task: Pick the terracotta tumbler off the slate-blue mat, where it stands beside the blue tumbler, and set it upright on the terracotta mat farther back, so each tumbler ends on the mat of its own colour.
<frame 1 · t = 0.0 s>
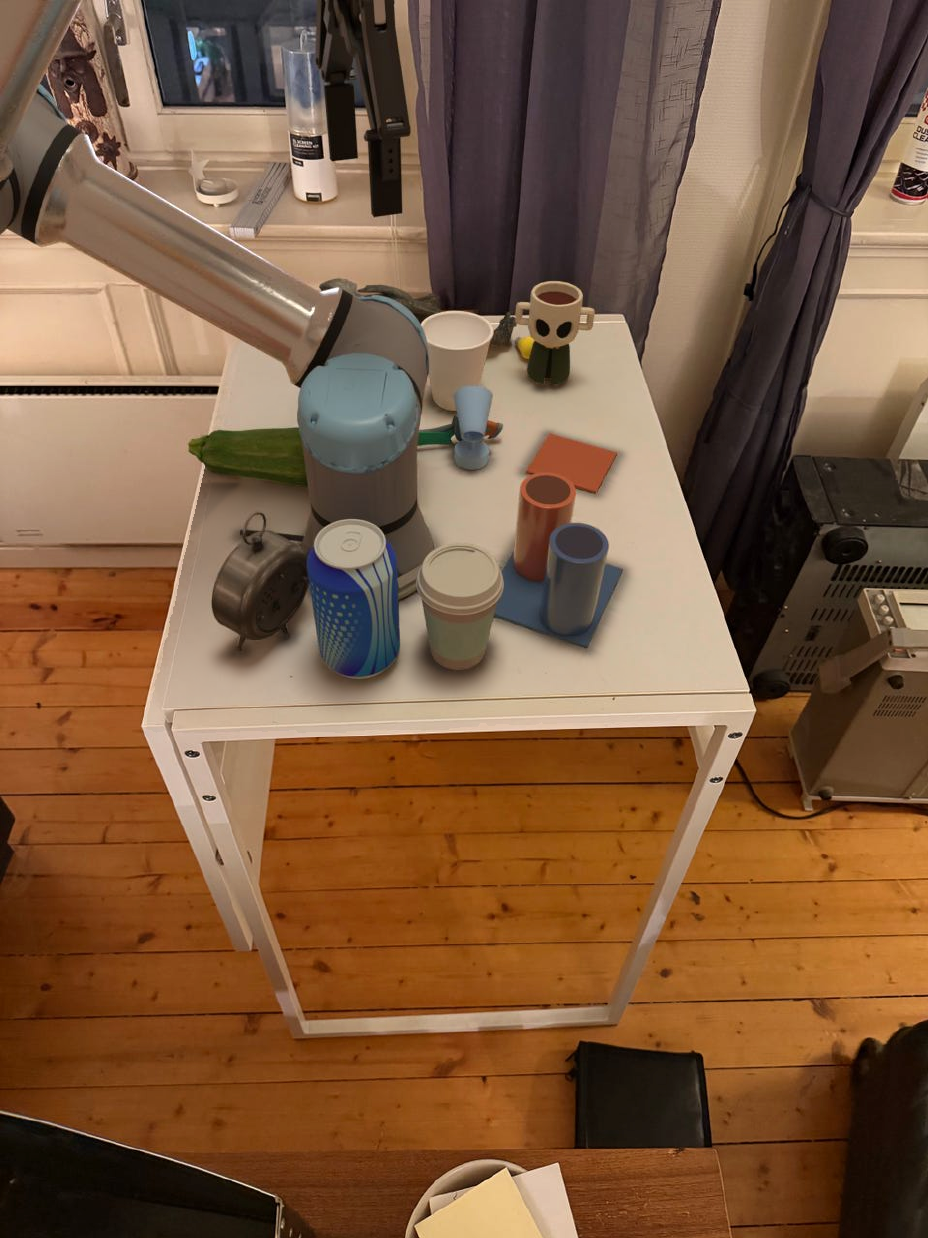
hand: (364, 185, 83), 37 cm above the table, tool pointing down, fingers open, 13 cm apart
stone: (372, 370, 125), point 1 cm above the table
terracotta tumbler: (538, 563, 101), resting on blue mat
statue: (513, 333, 133), point 1 cm above the table, touching spoon rest
blue tumbler: (566, 615, 95), resting on blue mat
spotlight: (471, 458, 115), on the table
terracotta mat: (571, 463, 114), on the table
vegetable: (343, 460, 107), point 4 cm above the table
spoon rest: (345, 382, 125), on the table, touching statue
beer can: (360, 655, 92), on the table
alarm clock: (274, 631, 94), on the table
blue mat: (552, 590, 98), on the table
character mug: (547, 377, 128), on the table
coffee cup: (457, 650, 92), on the table
light bulb: (518, 356, 131), on the table
cup: (454, 401, 123), on the table
knife: (429, 448, 116), on the table
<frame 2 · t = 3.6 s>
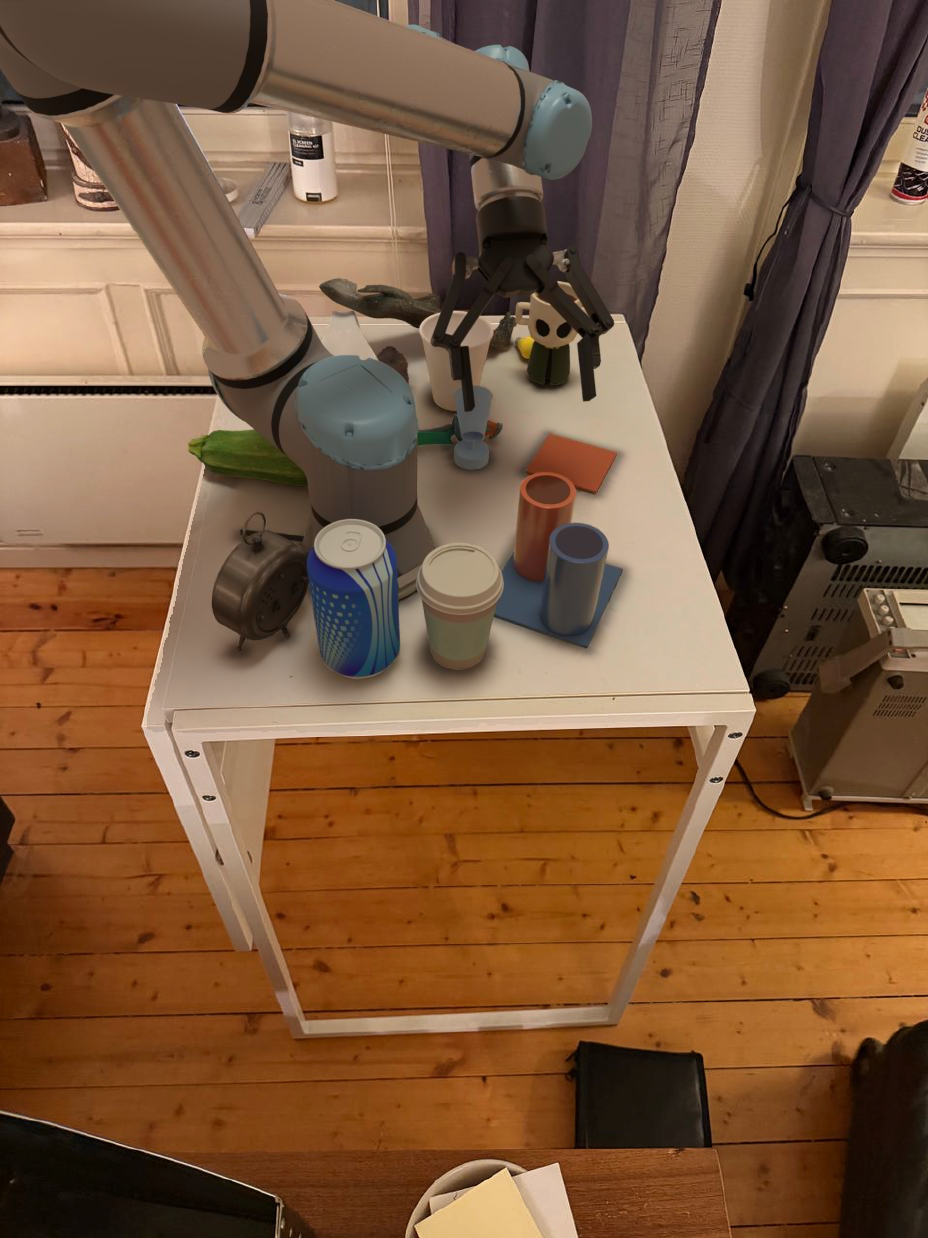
hand: (530, 404, 96), 16 cm above the table, tool tilted 45°, fingers open, 13 cm apart
nothing on the table moved.
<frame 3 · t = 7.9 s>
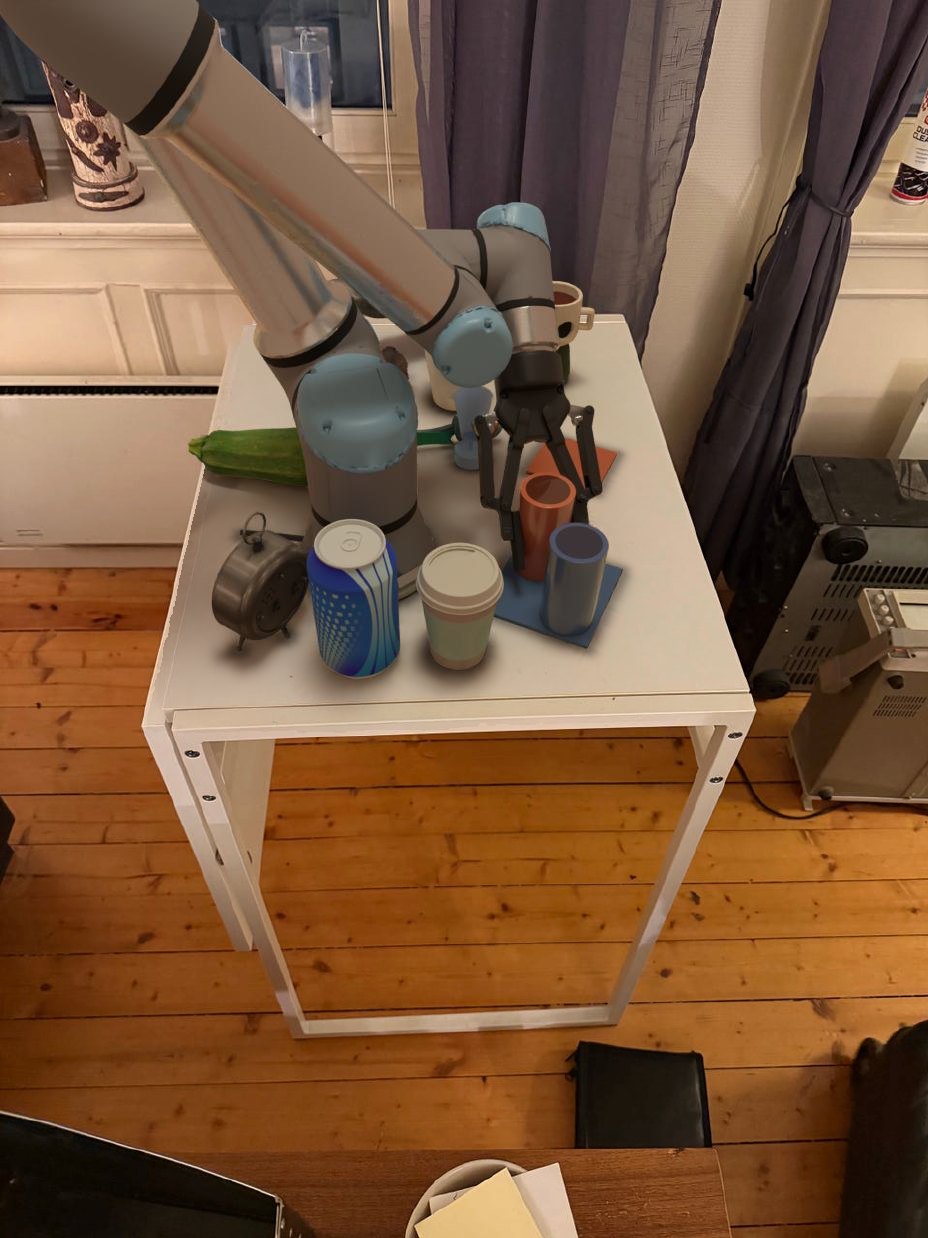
hand: (549, 566, 96), 3 cm above the table, tool tilted 45°, fingers closed on terracotta tumbler, 6 cm apart
terracotta tumbler: (538, 563, 101), resting on blue mat, touching gripper
everything else where it was.
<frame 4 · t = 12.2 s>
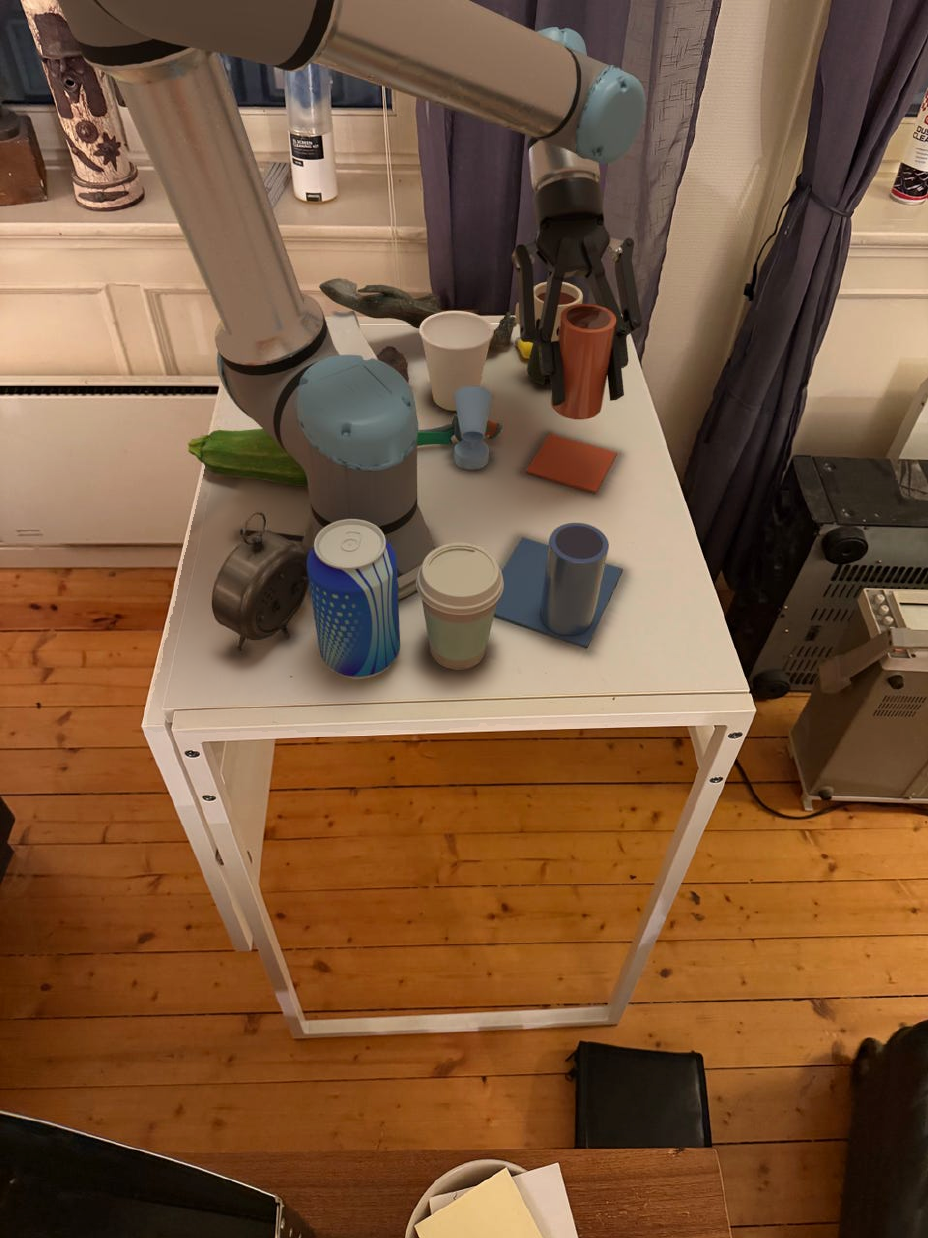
hand: (588, 400, 97), 16 cm above the table, tool tilted 45°, fingers closed on terracotta tumbler, 6 cm apart
terracotta tumbler: (576, 404, 101), point 13 cm above the table, touching gripper
everything else where it was.
when the fingers open (3 cm above the table, at t = 16.5 s): terracotta tumbler stays where it is, resting on terracotta mat.
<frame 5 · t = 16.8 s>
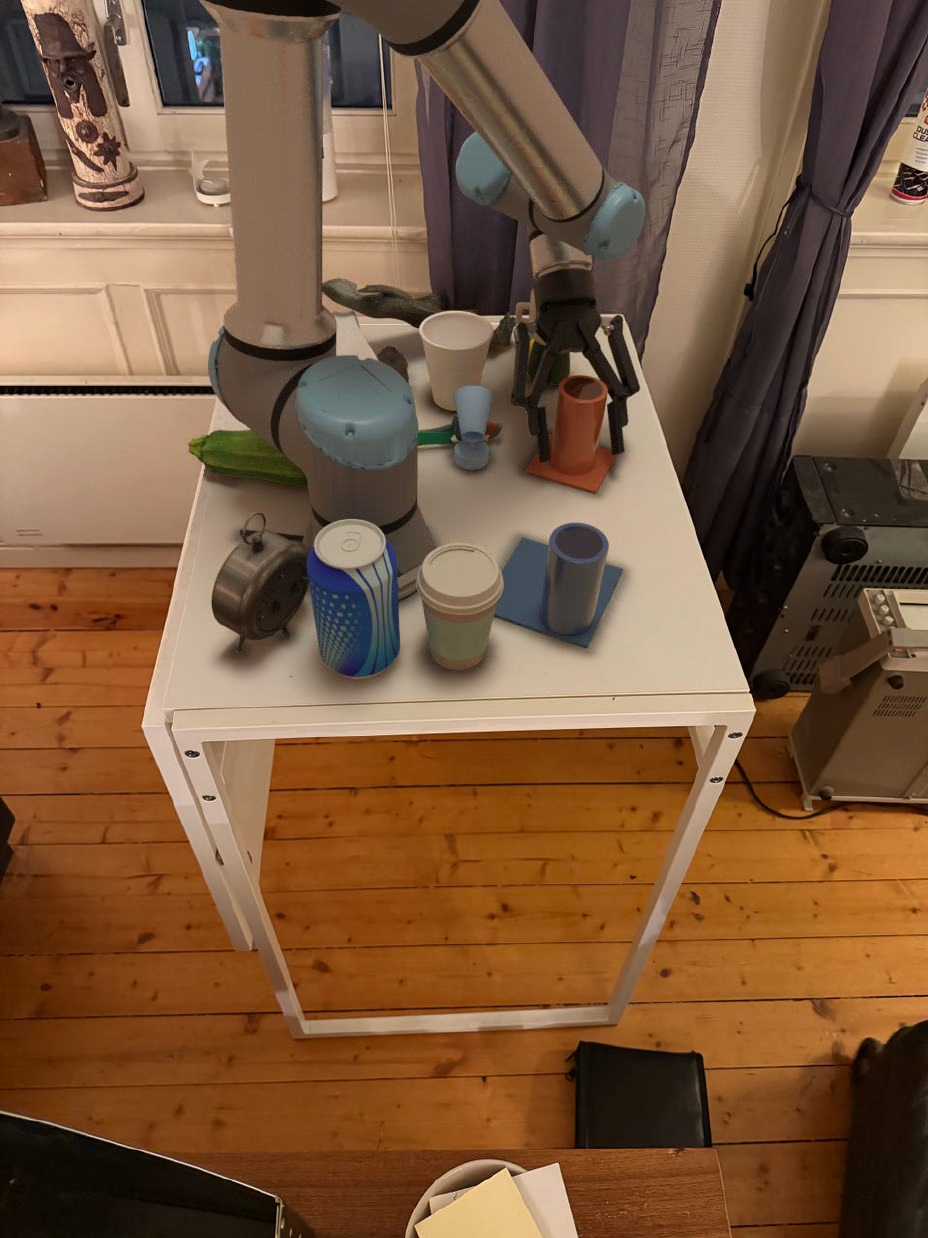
hand: (582, 457, 109), 4 cm above the table, tool tilted 45°, fingers open, 9 cm apart
terracotta tumbler: (572, 461, 114), resting on terracotta mat
everything else where it was.
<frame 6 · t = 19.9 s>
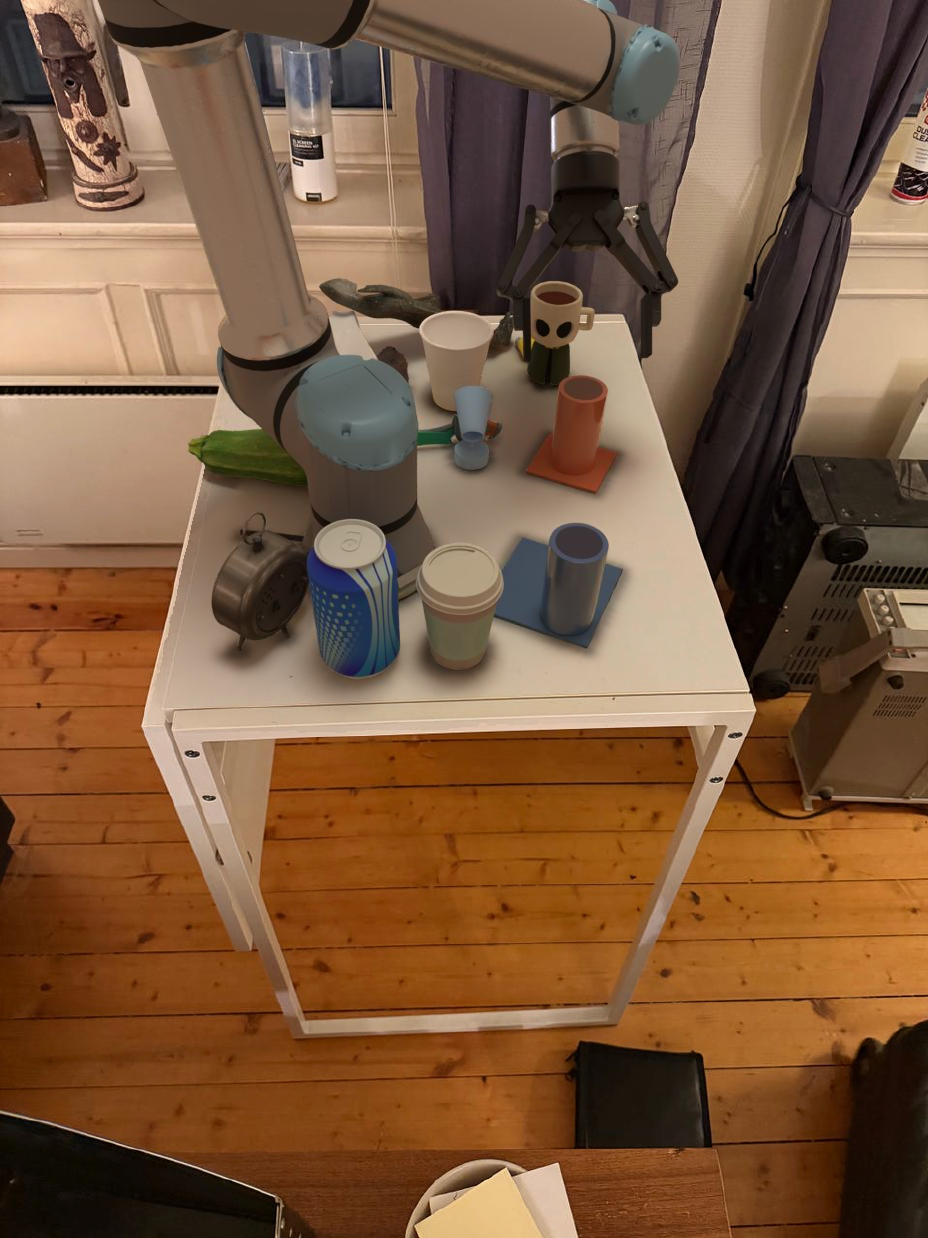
hand: (586, 358, 99), 18 cm above the table, tool tilted 40°, fingers open, 13 cm apart
nothing on the table moved.
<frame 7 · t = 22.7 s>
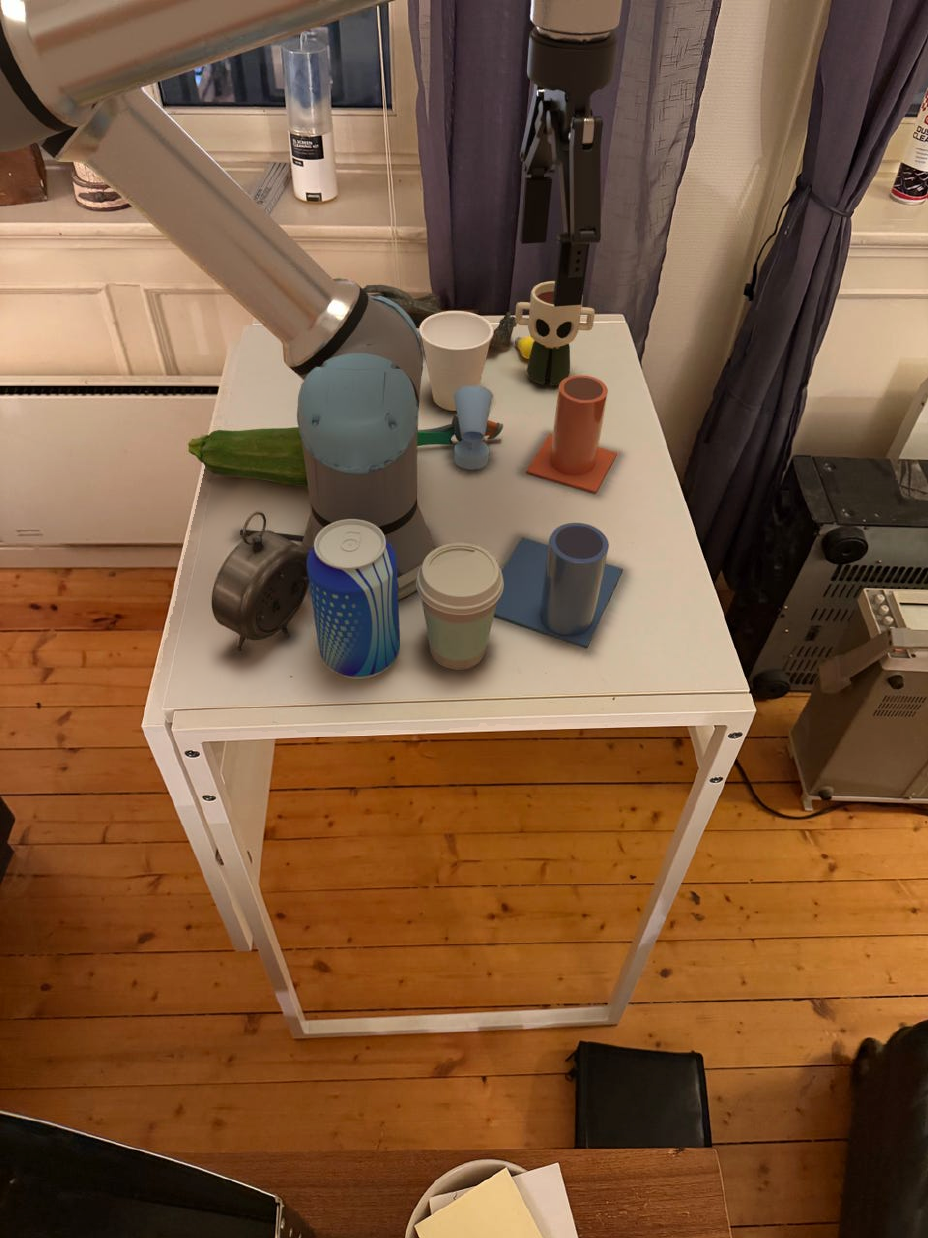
hand: (549, 271, 89), 29 cm above the table, tool pointing down, fingers open, 13 cm apart
nothing on the table moved.
at the end: terracotta tumbler inside the target area on the terracotta mat (0.1 cm from its centre), point 0.4 cm above the terracotta mat's base; terracotta tumbler tilted 0°; blue tumbler inside the target area on the blue mat (4.3 cm from its centre), point 0.4 cm above the blue mat's base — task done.
